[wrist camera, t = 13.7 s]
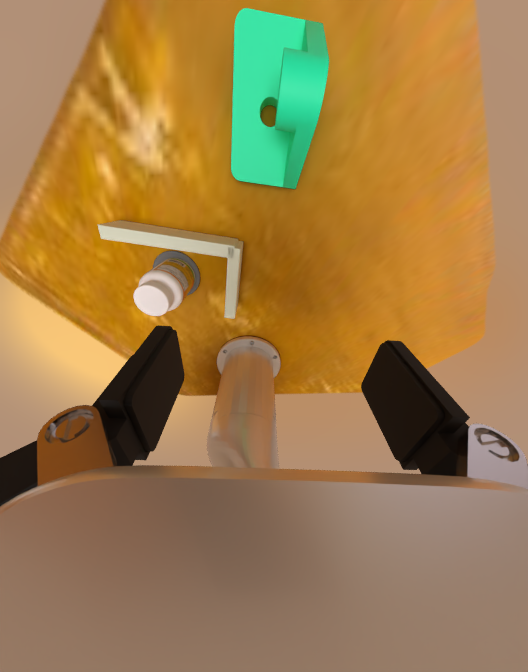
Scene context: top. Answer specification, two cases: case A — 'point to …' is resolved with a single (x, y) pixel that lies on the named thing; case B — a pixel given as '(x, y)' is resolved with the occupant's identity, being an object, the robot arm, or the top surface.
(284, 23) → the camera mount
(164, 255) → the pad
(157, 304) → the supplement bottle
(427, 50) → the top surface
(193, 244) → the corner walls
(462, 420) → the robot arm
